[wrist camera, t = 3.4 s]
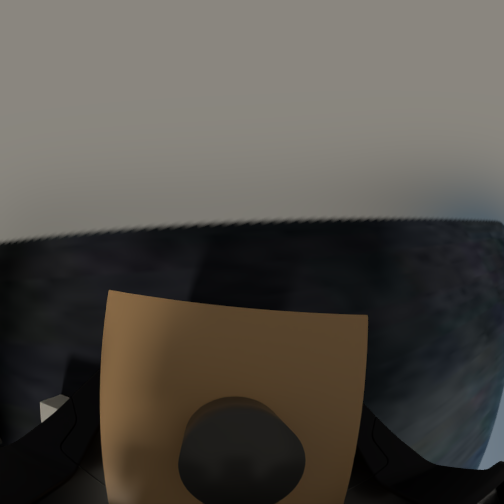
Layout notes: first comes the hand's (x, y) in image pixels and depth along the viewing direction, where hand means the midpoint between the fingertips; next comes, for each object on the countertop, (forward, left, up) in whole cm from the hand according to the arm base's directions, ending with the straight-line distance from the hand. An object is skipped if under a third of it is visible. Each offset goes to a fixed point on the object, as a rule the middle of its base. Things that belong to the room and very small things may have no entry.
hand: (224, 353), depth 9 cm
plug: (-1, +1, -7) cm, 7 cm away
